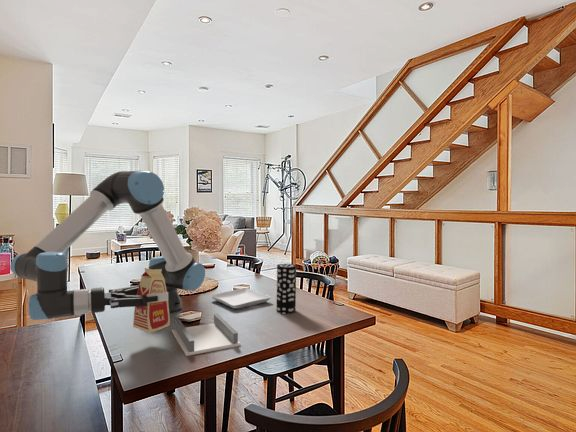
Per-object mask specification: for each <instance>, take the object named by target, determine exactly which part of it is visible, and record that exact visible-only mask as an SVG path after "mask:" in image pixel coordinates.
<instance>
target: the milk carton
mask: <svg viewBox="0 0 576 432" xmlns="http://www.w3.org/2000/svg"><path fill="white" fill-rule="evenodd" d="M161 271H162V269H154V270H153V269H149V268H145V267H144V273H142V274H141V276H140V277H141V278H140V281H139V284H138V285H139V289H138V293H137V295H138V296H147V294H155V293H163V292H167V289H166V284H165V278H164V277H163V275H162V273H161ZM170 317H171V316H170V313H169V304H168V301H162V302H154V303H147V306H146V307H144V306H137V307H134V311H133V325H132V327H133V328H135V329H138V330H140V331H143V332H145V333H148V334H151V333H154V332H157V331H159V330H162V329H164V328H166V327H169V326H170V325H171V323H170V322H171V321H170V320H171V319H170Z"/></svg>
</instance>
